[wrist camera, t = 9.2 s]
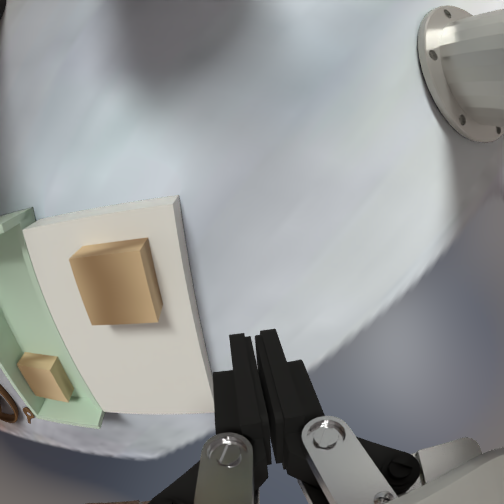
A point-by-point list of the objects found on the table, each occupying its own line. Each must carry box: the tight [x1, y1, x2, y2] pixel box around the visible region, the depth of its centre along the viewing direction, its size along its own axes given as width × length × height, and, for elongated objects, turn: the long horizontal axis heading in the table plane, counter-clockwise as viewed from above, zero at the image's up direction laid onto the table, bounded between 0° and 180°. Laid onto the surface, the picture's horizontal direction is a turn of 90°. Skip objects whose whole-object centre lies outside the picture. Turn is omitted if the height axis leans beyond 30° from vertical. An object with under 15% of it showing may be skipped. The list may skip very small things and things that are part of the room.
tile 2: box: [17, 352, 74, 403], centre depth 21 cm, size 4×4×2 cm
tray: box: [0, 207, 105, 429], centre depth 18 cm, size 8×20×4 cm, turn 4°
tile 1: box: [69, 237, 163, 325], centre depth 16 cm, size 4×4×2 cm
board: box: [22, 195, 214, 414], centre depth 20 cm, size 11×18×2 cm, turn 4°
